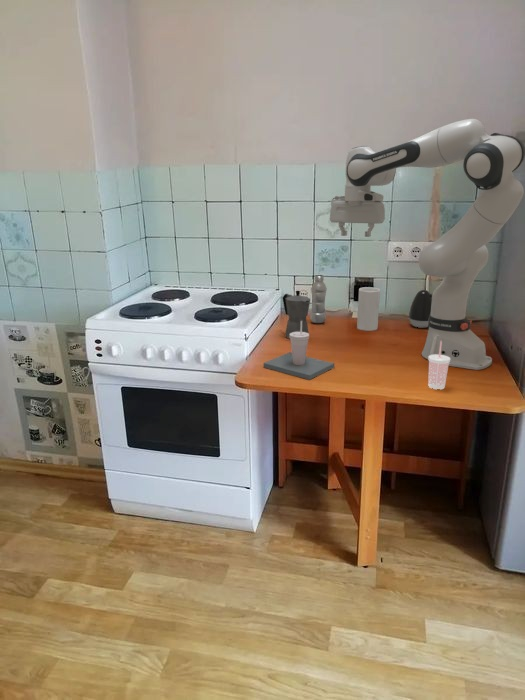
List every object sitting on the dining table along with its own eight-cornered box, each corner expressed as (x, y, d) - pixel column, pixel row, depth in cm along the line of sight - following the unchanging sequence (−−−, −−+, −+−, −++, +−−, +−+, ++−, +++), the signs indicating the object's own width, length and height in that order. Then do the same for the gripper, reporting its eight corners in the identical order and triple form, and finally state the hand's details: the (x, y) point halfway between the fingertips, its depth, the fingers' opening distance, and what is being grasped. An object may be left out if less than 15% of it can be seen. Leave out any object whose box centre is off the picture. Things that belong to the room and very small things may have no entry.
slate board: (334, 367, 174) (334, 363, 173) (309, 379, 163) (309, 375, 163) (289, 356, 185) (289, 352, 184) (263, 367, 174) (263, 362, 174)
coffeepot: (317, 338, 205) (319, 292, 199) (298, 342, 200) (299, 295, 194) (292, 329, 217) (292, 285, 211) (273, 333, 212) (273, 288, 206)
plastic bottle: (327, 321, 228) (329, 274, 222) (322, 325, 222) (324, 277, 216) (313, 320, 231) (314, 273, 225) (307, 324, 225) (308, 276, 219)
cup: (379, 330, 215) (381, 291, 210) (358, 330, 215) (360, 291, 210) (375, 325, 223) (377, 287, 218) (355, 325, 223) (357, 287, 218)
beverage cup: (448, 384, 160) (453, 339, 155) (446, 391, 154) (451, 345, 150) (426, 381, 162) (431, 337, 158) (424, 388, 157) (428, 342, 152)
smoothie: (309, 366, 171) (310, 323, 166) (289, 366, 171) (289, 323, 166) (308, 359, 177) (309, 318, 172) (288, 359, 177) (289, 318, 172)
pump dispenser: (433, 330, 215) (437, 293, 210) (407, 328, 218) (410, 291, 213) (434, 324, 224) (438, 288, 219) (408, 322, 227) (411, 286, 222)
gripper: (327, 196, 193) (326, 235, 197) (380, 195, 181) (377, 237, 185) (335, 196, 198) (334, 234, 201) (387, 195, 186) (385, 236, 190)
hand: (355, 236), depth 193 cm, fingers open, 8 cm apart
